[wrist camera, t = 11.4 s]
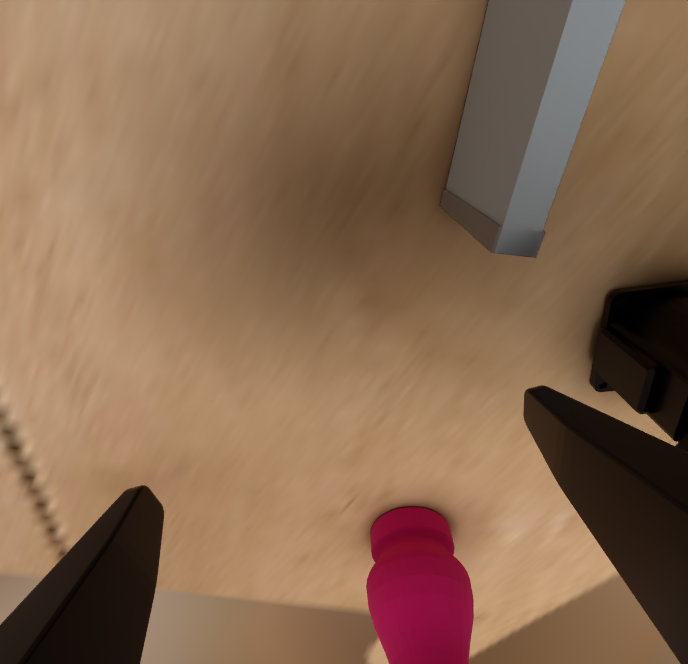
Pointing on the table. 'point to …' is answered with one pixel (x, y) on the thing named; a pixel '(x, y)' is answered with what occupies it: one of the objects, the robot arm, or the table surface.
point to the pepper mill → (419, 590)
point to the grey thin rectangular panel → (524, 116)
